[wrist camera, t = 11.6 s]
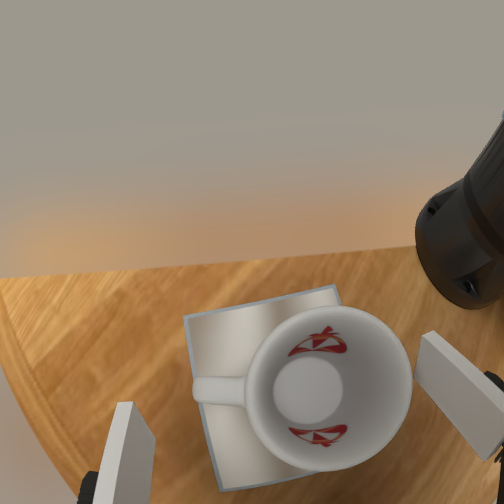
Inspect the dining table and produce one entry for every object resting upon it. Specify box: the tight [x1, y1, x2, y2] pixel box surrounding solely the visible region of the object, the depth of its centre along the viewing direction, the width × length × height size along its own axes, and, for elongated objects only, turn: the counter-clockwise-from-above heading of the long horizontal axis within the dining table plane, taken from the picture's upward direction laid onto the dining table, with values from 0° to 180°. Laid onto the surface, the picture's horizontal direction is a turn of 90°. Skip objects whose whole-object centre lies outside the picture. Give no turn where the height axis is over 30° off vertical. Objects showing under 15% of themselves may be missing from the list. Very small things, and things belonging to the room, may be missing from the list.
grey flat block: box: [183, 284, 342, 492], centre depth 20 cm, size 12×14×5 cm
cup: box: [192, 305, 413, 472], centre depth 15 cm, size 11×8×8 cm
